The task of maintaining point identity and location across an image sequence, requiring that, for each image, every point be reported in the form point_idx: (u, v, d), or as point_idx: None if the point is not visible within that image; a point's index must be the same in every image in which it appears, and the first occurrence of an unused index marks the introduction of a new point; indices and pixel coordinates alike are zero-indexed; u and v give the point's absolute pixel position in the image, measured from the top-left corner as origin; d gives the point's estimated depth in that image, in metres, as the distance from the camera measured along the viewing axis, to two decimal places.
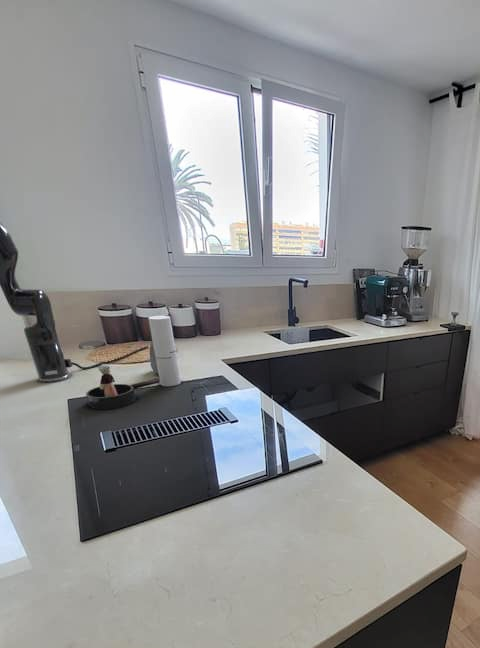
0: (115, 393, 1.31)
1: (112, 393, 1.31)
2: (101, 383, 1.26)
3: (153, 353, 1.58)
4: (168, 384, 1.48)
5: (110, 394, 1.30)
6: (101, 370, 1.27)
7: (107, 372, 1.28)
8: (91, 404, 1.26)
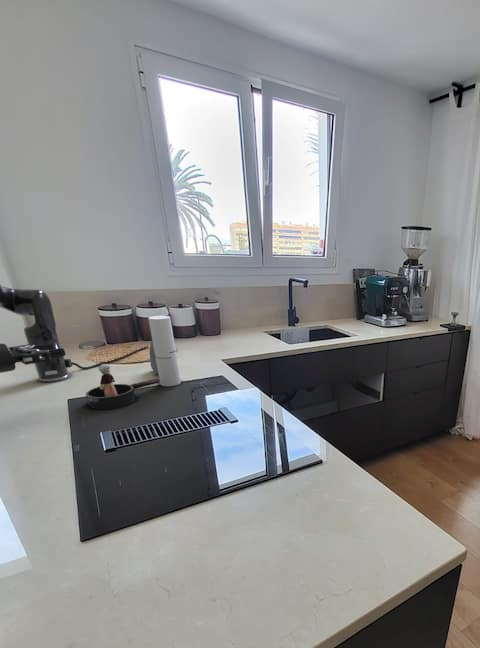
0: (115, 393, 1.31)
1: (112, 393, 1.31)
2: (101, 383, 1.26)
3: (153, 353, 1.58)
4: (168, 384, 1.48)
5: (110, 394, 1.30)
6: (101, 370, 1.27)
7: (107, 372, 1.28)
8: (91, 404, 1.26)
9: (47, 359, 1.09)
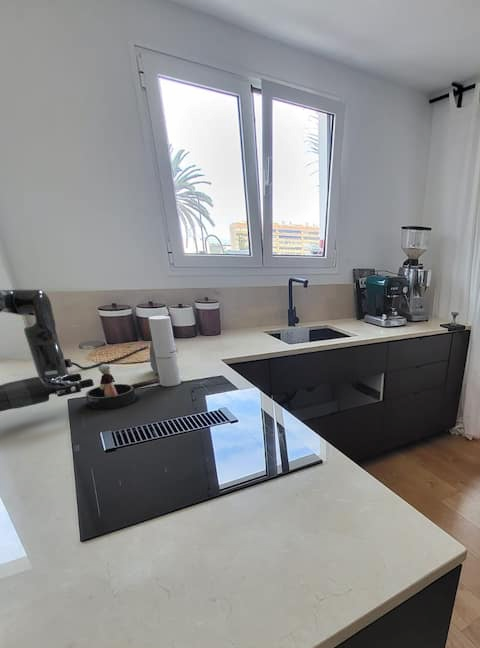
0: (115, 393, 1.31)
1: (112, 393, 1.31)
2: (101, 383, 1.26)
3: (153, 353, 1.58)
4: (168, 384, 1.48)
5: (110, 394, 1.30)
6: (101, 370, 1.27)
7: (107, 372, 1.28)
8: (91, 404, 1.26)
9: (78, 390, 1.17)
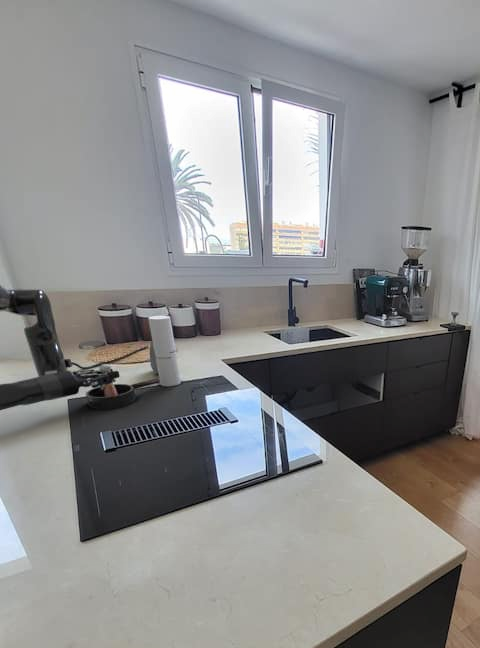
0: (115, 393, 1.31)
1: (112, 393, 1.31)
2: None
3: (153, 353, 1.58)
4: (168, 384, 1.48)
5: (110, 394, 1.30)
6: (101, 370, 1.26)
7: (107, 372, 1.28)
8: (91, 404, 1.26)
9: (107, 381, 1.25)
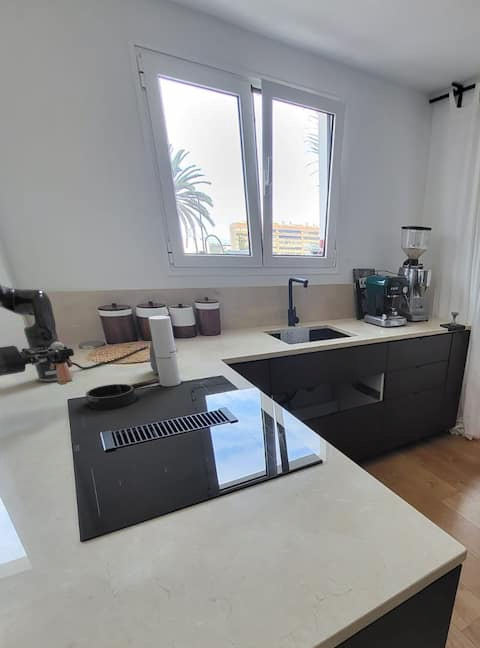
0: (69, 374, 1.21)
1: (65, 374, 1.20)
2: None
3: (153, 353, 1.58)
4: (168, 384, 1.48)
5: (63, 375, 1.20)
6: (52, 348, 1.16)
7: None
8: (91, 404, 1.26)
9: (58, 359, 1.14)
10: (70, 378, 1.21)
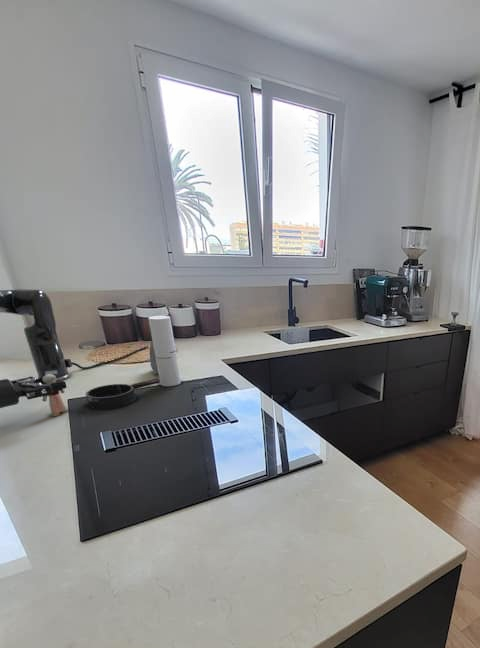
0: (62, 405, 1.22)
1: (58, 405, 1.21)
2: None
3: (153, 353, 1.58)
4: (168, 384, 1.48)
5: (56, 406, 1.21)
6: (44, 380, 1.17)
7: None
8: (91, 404, 1.26)
9: (49, 393, 1.13)
10: (63, 409, 1.22)
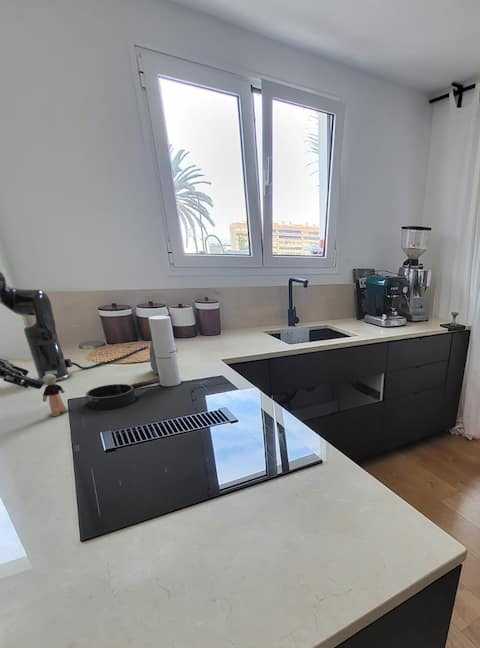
0: (62, 405, 1.22)
1: (58, 405, 1.21)
2: (44, 394, 1.17)
3: (153, 353, 1.58)
4: (168, 384, 1.48)
5: (56, 406, 1.21)
6: (44, 380, 1.17)
7: (51, 383, 1.18)
8: (91, 404, 1.26)
9: (25, 386, 1.09)
10: (63, 409, 1.22)
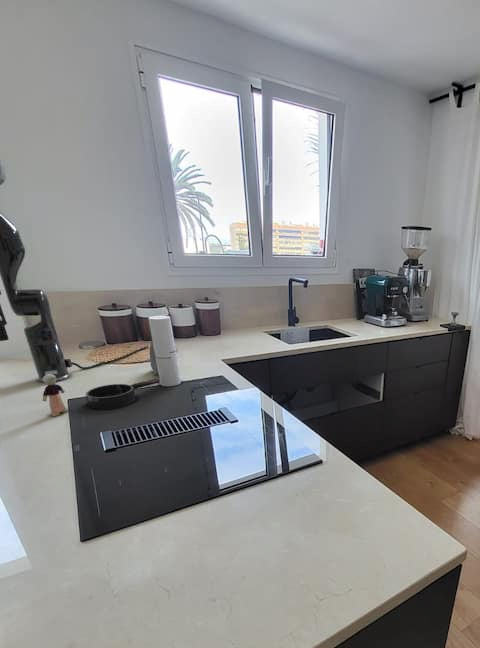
0: (62, 405, 1.22)
1: (58, 405, 1.21)
2: (44, 394, 1.17)
3: (153, 353, 1.58)
4: (168, 384, 1.48)
5: (56, 406, 1.21)
6: (44, 380, 1.17)
7: (51, 383, 1.18)
8: (91, 404, 1.26)
9: None
10: (63, 409, 1.22)
